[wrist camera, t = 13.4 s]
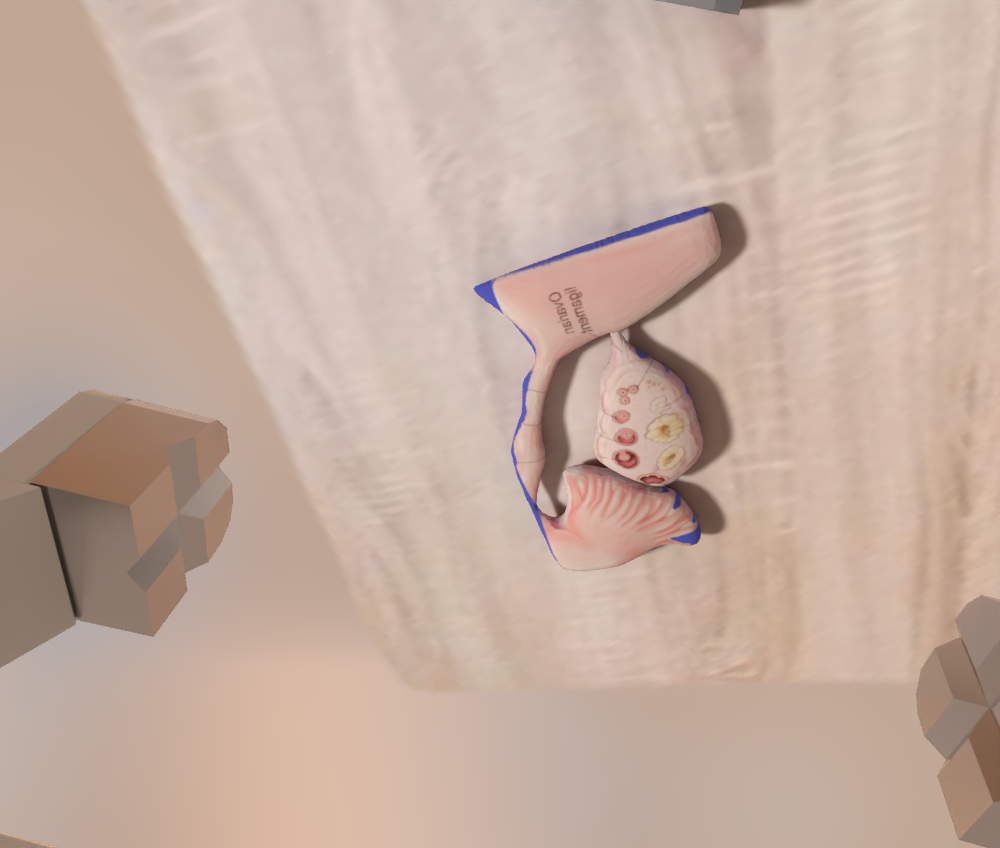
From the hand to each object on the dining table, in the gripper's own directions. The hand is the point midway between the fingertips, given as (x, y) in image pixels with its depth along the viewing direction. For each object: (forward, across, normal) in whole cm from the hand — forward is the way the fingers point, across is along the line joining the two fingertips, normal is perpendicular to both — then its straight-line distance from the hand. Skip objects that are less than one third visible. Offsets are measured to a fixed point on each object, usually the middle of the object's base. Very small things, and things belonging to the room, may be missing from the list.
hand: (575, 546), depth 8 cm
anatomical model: (+32, -3, +17) cm, 36 cm away
